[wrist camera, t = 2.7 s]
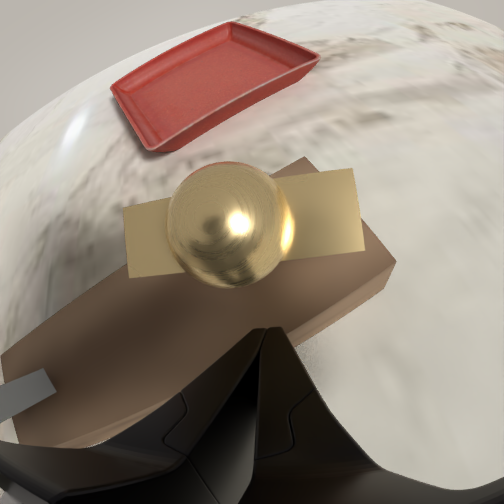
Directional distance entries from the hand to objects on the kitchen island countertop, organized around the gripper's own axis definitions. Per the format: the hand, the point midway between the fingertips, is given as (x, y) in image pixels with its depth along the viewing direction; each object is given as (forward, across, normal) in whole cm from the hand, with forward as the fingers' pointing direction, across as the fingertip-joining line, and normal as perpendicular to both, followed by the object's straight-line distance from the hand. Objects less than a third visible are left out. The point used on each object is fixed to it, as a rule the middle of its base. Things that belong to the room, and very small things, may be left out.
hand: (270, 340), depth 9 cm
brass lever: (+7, 0, -1) cm, 7 cm away
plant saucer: (+26, +7, -13) cm, 30 cm away
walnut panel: (+7, +8, +5) cm, 12 cm away
